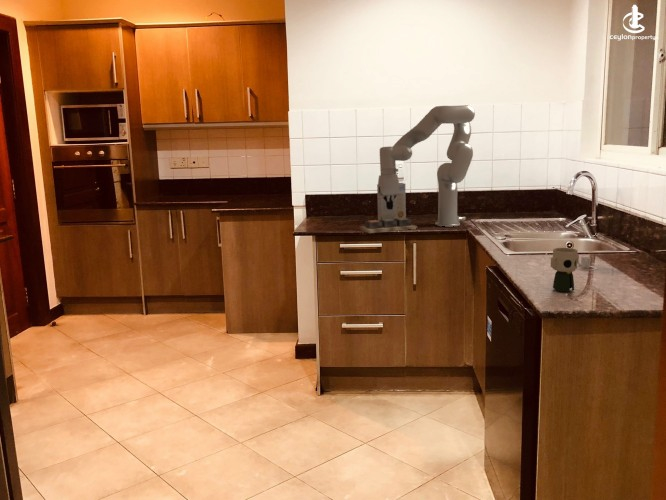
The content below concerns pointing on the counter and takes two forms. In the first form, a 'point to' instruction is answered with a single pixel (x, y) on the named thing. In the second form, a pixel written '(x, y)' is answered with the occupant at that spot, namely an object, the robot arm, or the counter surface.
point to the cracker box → (398, 206)
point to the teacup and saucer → (585, 263)
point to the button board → (387, 226)
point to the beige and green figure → (564, 268)
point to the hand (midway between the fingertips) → (389, 209)
